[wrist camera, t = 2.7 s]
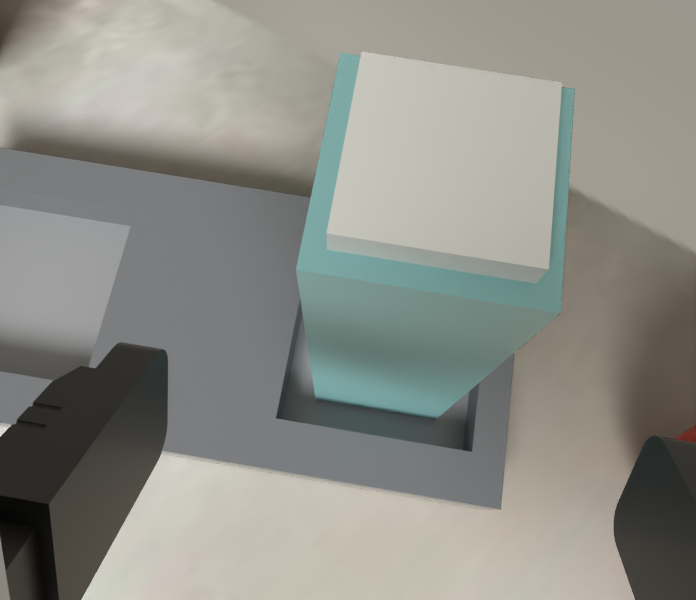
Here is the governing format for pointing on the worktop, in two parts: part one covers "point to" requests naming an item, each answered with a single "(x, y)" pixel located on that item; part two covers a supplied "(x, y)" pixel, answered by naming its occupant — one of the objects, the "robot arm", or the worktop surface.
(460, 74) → the plug
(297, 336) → the panel
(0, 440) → the robot arm
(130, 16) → the worktop surface
